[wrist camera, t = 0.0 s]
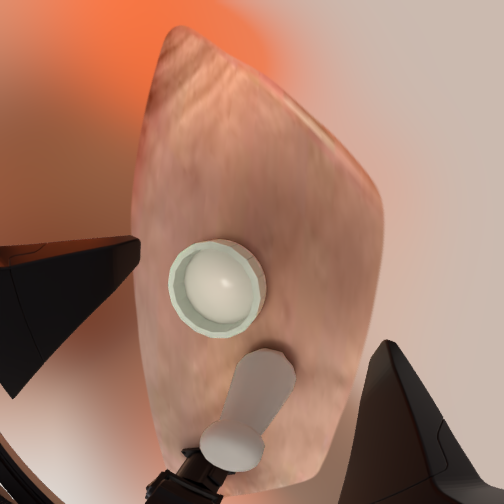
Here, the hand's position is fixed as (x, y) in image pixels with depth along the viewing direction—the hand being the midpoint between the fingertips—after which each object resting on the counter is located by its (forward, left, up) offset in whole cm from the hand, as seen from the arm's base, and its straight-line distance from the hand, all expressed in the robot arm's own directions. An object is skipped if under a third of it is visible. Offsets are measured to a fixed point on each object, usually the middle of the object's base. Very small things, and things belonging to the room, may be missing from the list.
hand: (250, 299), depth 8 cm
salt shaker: (-8, -9, -16) cm, 20 cm away
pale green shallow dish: (-8, 0, -15) cm, 18 cm away
